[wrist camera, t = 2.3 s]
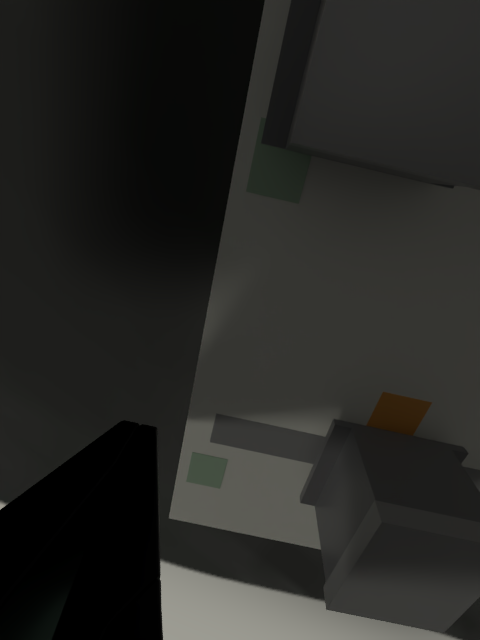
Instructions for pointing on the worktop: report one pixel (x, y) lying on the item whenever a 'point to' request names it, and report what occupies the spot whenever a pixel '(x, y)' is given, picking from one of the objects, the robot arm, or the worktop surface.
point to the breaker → (382, 87)
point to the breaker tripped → (395, 526)
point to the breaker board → (325, 323)
